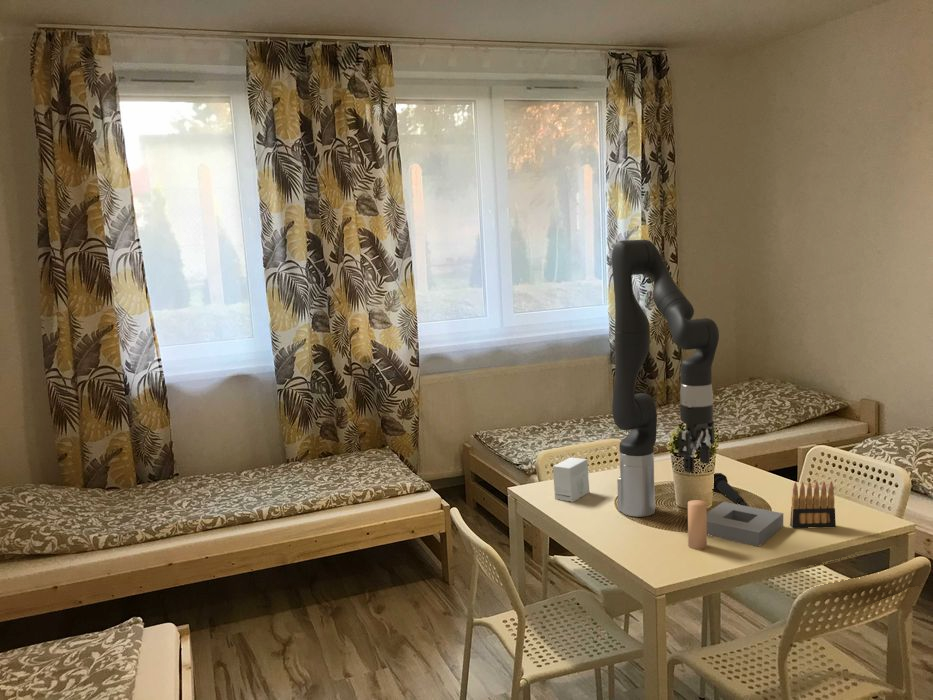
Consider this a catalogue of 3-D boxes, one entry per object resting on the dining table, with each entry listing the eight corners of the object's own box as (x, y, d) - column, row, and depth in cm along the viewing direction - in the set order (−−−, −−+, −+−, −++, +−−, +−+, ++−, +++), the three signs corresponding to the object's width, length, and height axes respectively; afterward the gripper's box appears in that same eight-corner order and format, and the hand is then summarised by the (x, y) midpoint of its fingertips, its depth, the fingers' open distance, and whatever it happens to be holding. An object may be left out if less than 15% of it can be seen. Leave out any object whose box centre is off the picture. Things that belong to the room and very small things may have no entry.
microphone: (752, 519, 213) (718, 488, 232) (759, 500, 212) (724, 471, 231) (735, 515, 212) (702, 485, 231) (742, 496, 211) (708, 467, 230)
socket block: (697, 532, 197) (696, 519, 197) (723, 514, 209) (723, 501, 208) (758, 546, 186) (758, 532, 186) (783, 526, 198) (783, 513, 198)
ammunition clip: (792, 528, 197) (792, 483, 195) (790, 525, 198) (790, 480, 197) (835, 527, 196) (836, 482, 194) (833, 524, 197) (833, 479, 196)
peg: (685, 546, 189) (684, 503, 187) (693, 541, 192) (692, 498, 190) (702, 550, 186) (701, 507, 184) (710, 545, 189) (709, 502, 187)
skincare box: (571, 489, 237) (570, 456, 235) (589, 492, 233) (588, 459, 231) (553, 499, 229) (552, 465, 227) (572, 502, 225) (571, 468, 223)
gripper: (695, 395, 192) (695, 457, 194) (668, 406, 181) (669, 472, 183) (724, 397, 187) (724, 462, 189) (697, 409, 176) (698, 477, 178)
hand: (697, 467), depth 186 cm, fingers open, 8 cm apart
